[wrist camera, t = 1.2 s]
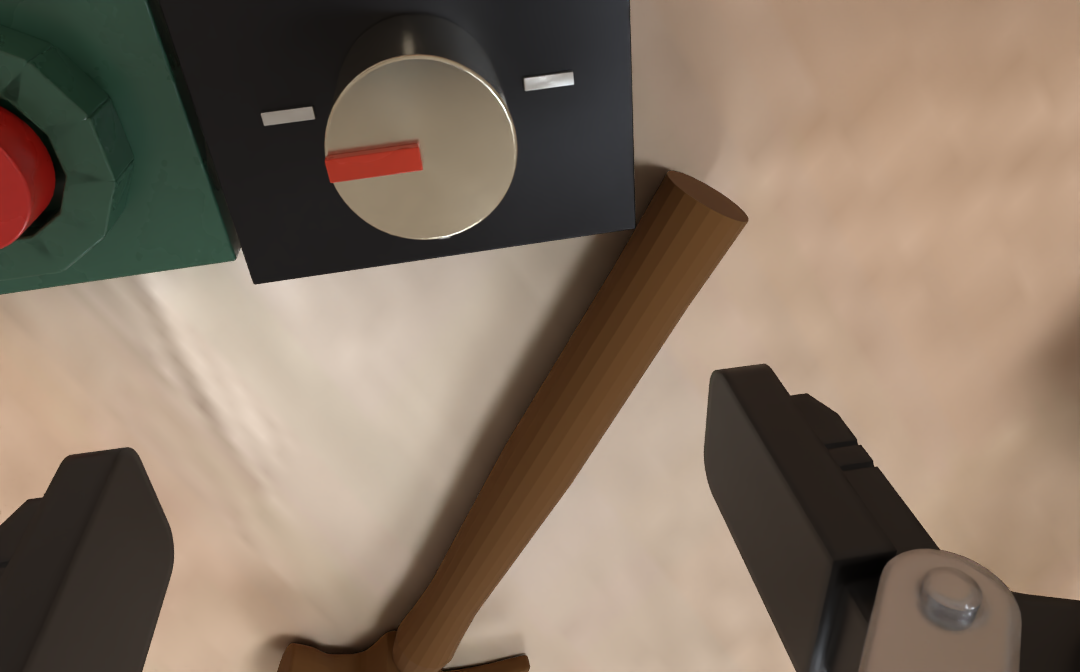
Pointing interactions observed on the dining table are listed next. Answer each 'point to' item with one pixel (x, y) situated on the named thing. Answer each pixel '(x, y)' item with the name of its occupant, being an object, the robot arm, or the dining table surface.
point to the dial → (419, 129)
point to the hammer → (558, 427)
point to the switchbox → (108, 145)
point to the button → (22, 177)
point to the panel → (306, 96)
